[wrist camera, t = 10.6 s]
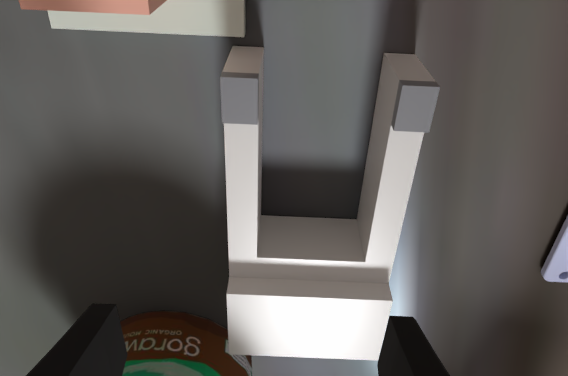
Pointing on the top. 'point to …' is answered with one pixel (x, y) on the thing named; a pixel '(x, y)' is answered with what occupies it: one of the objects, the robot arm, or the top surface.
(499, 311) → the top surface
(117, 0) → the salmon pink rectangular prism
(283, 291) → the white u-shaped piece
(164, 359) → the food container
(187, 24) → the white rectangular board
